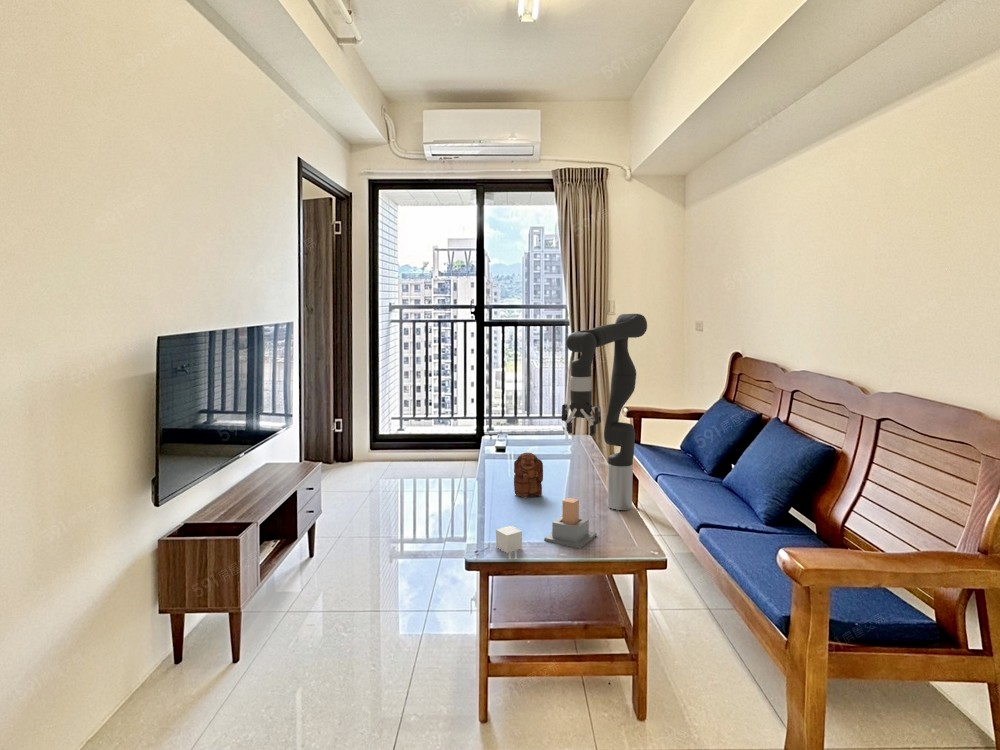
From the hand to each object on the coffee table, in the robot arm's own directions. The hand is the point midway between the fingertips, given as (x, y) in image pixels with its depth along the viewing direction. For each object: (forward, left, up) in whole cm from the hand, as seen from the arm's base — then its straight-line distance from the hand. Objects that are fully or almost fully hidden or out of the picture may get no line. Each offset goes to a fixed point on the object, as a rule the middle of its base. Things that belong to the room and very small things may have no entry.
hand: (580, 434), depth 203 cm
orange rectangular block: (+15, -6, -31) cm, 35 cm away
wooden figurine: (-32, -16, -32) cm, 48 cm away
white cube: (+22, -27, -32) cm, 48 cm away
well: (+15, -6, -32) cm, 36 cm away
